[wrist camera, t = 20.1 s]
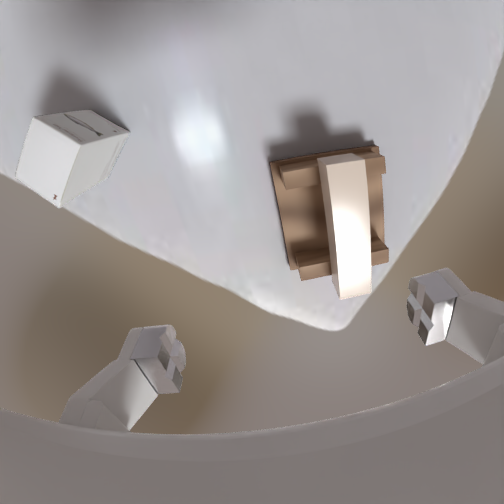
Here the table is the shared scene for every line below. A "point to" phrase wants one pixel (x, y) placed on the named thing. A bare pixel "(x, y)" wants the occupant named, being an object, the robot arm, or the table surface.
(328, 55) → the table surface
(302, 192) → the ridged wooden base
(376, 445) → the robot arm
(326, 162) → the beige rectangular bar
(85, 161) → the supplement box
